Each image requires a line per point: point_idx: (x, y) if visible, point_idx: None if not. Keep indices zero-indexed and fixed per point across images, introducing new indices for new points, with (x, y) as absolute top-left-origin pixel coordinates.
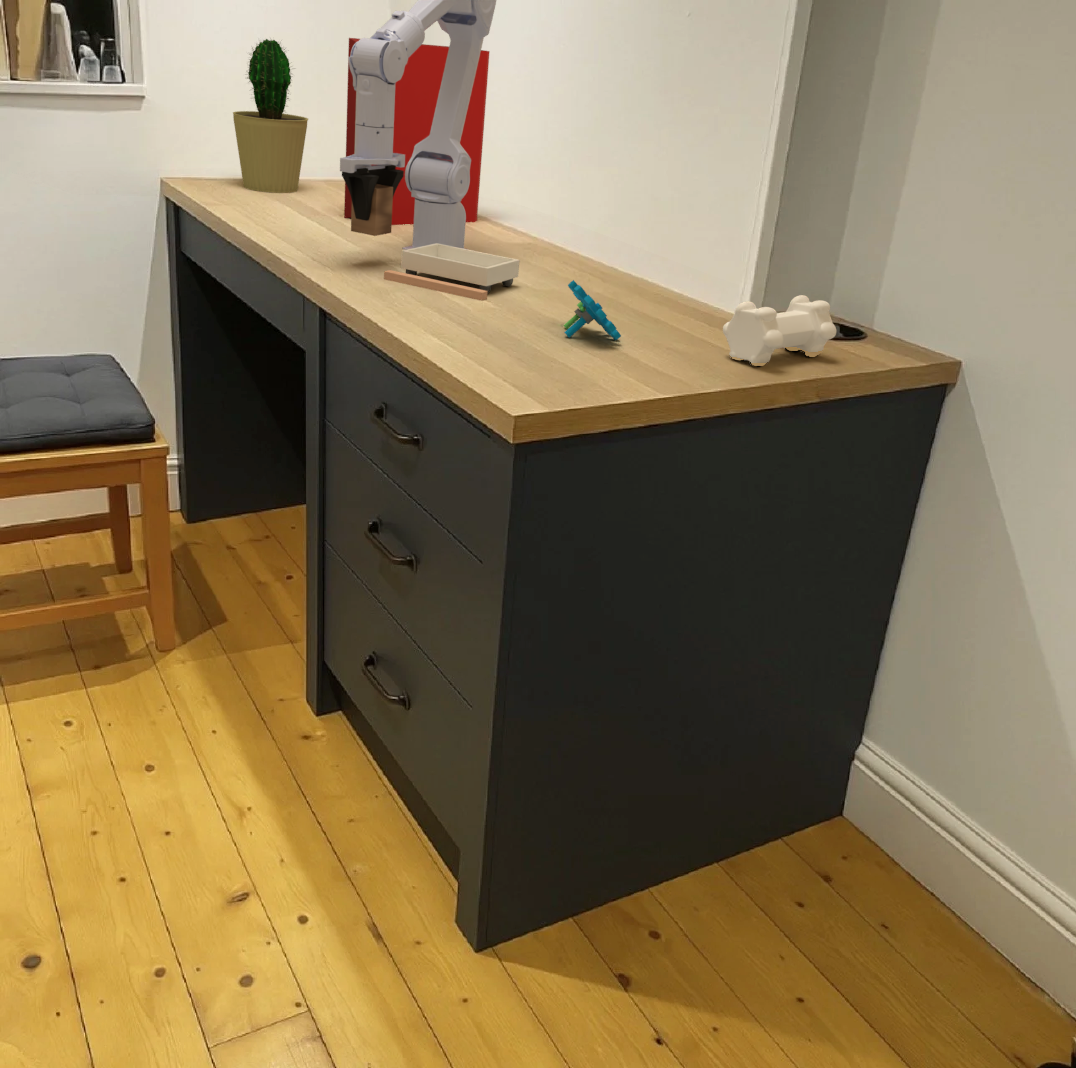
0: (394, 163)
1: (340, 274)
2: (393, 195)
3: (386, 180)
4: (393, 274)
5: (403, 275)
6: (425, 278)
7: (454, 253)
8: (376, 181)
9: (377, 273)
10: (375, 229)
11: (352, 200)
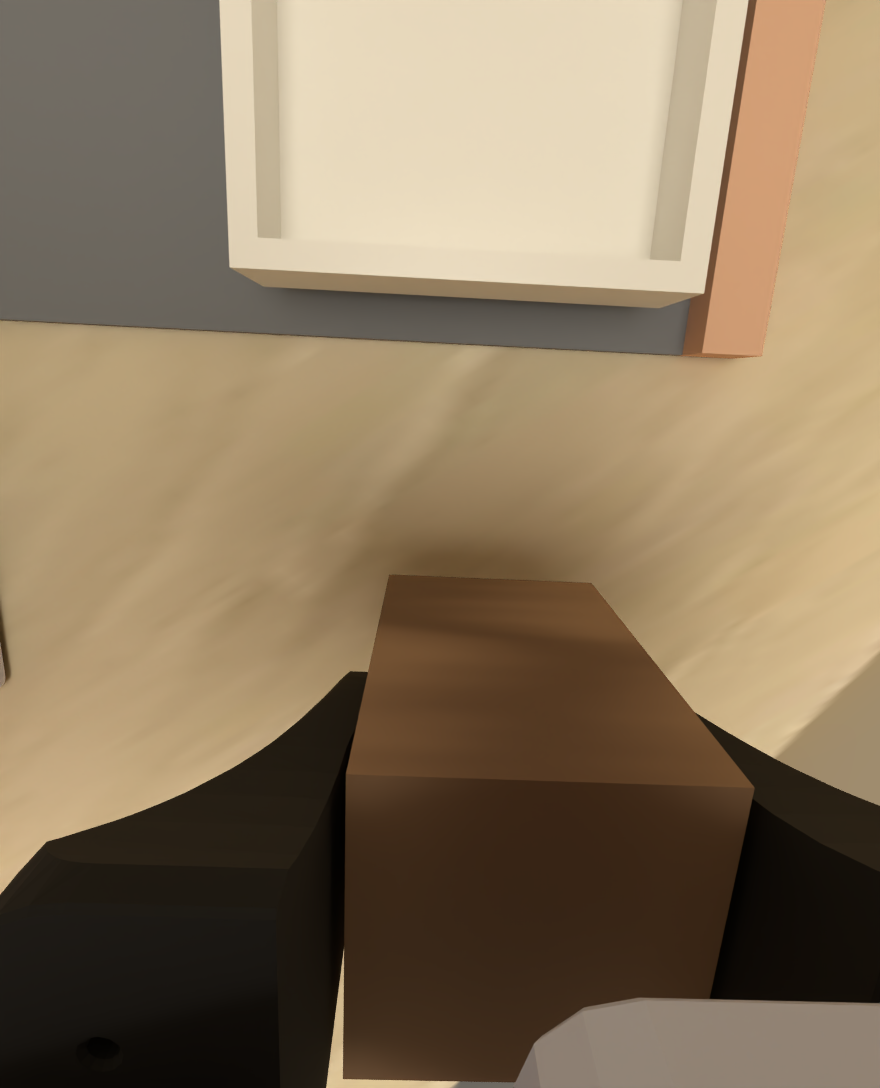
0: (859, 1024)
1: (723, 594)
2: (274, 742)
3: (321, 935)
4: (770, 288)
5: (785, 212)
6: (767, 59)
7: (265, 80)
8: (865, 854)
9: (569, 490)
10: (597, 598)
11: None
